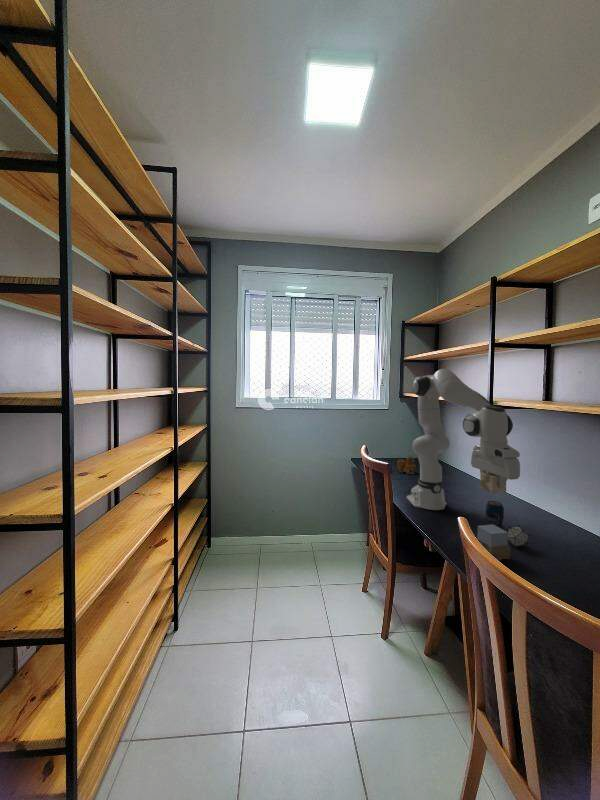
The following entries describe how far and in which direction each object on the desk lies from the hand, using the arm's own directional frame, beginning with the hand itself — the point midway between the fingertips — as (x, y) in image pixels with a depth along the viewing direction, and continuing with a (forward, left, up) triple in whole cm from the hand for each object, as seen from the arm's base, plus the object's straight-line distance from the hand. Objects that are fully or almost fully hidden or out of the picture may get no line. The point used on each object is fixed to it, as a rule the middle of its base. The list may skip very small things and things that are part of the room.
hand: (493, 484), depth 119 cm
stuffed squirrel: (-113, +26, -28) cm, 119 cm away
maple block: (0, 0, -2) cm, 2 cm away
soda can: (-19, +18, -28) cm, 38 cm away
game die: (-4, +15, -28) cm, 32 cm away
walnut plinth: (0, 0, -27) cm, 27 cm away
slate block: (0, 0, -22) cm, 22 cm away
